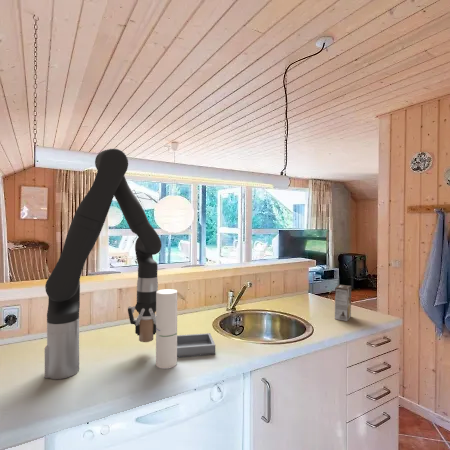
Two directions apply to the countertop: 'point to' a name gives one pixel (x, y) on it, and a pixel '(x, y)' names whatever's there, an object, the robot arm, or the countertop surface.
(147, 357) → the countertop surface
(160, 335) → the cylindrical container
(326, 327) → the countertop surface
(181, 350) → the tray
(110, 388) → the countertop surface
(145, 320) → the shaker
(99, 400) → the countertop surface
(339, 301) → the coffee box
